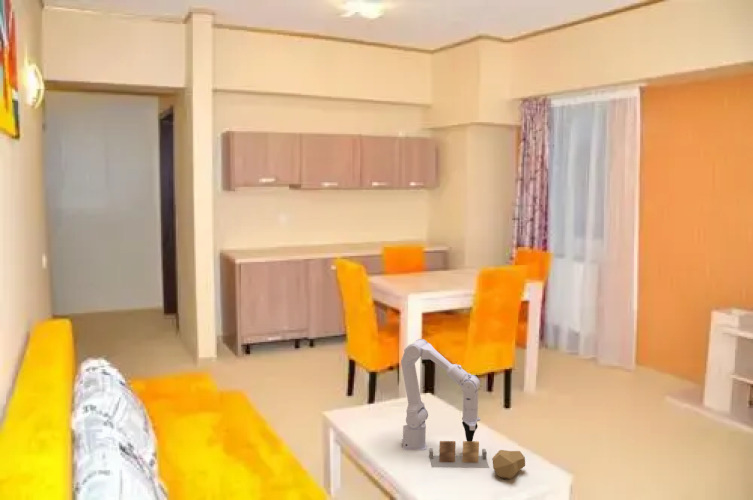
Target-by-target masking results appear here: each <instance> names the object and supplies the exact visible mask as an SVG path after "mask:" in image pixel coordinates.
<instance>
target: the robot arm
mask: <svg viewBox="0 0 753 500" xmlns="http://www.w3.org/2000/svg"><path fill="white" fill-rule="evenodd" d="M403 350H404V353H403V355H402V358H401V361H400V363H401V369H402V375H403V380H404V381H403V382H404V385H405V392H406V398H407V404H408V405H407V408H406V418H405V425H403V426H402V439H401V440H402V441H401V443H402V448H403V450H405V451H427V450H428V447H427V442H426V437H427V436H426V433H427V432H426V430H427V427H426V426H427V423H426V421H427V419H428V417H429V412H428V409H427V408H426V407H425V403H424V402H423V401H422V397H421V392H420V387H419V385H420V384H419V380H418V375H417V369H416V363H417V361H418V360H419V359H420V360H431V362H433V363H435V364H436V365H438V366H439V367H440V368H442V369H443V370H444V371H445V372H446V375H447V377H448V378H449V379H451V380H452V381H453V382H455V383H456V384H457V385H459V386H460V388H461V390H462V393H463V396H462V398H463V399H462V418H461V420H462V422H461V423H462V424H461V425H462V427H463V428H464V434H465V439H466V441H474V437H475V433H476V430H477V429H478V422H480V421H481V417H478V409H479V406H478V405H479V390H478V389H479V388H480V387H481V381H480V378H479V377H477V375H474V374H471V373H470V372H469V373H468V372H467V371H466V370H465V369H463V367H462V365H461V364H457V363H455V364H454V363H451V362H450V361H449V360H448V359H447V358H445V356H443V355H442V354H441V353H440V352H439V351H438V350H436V349H435V348H434V346H433V345H432V343H430V342H428V341H427V340H426V339H423V338H418V339H416V340H415V341H414V342H412V343H410V344H408V345H407V346H406V348H404V349H403Z"/></svg>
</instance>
